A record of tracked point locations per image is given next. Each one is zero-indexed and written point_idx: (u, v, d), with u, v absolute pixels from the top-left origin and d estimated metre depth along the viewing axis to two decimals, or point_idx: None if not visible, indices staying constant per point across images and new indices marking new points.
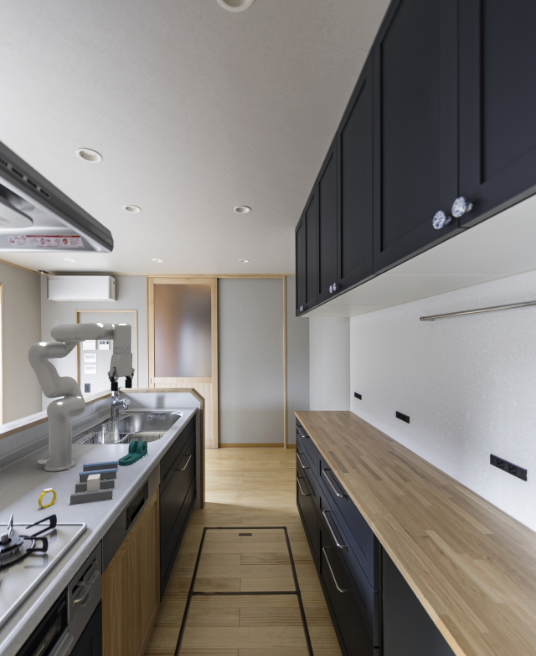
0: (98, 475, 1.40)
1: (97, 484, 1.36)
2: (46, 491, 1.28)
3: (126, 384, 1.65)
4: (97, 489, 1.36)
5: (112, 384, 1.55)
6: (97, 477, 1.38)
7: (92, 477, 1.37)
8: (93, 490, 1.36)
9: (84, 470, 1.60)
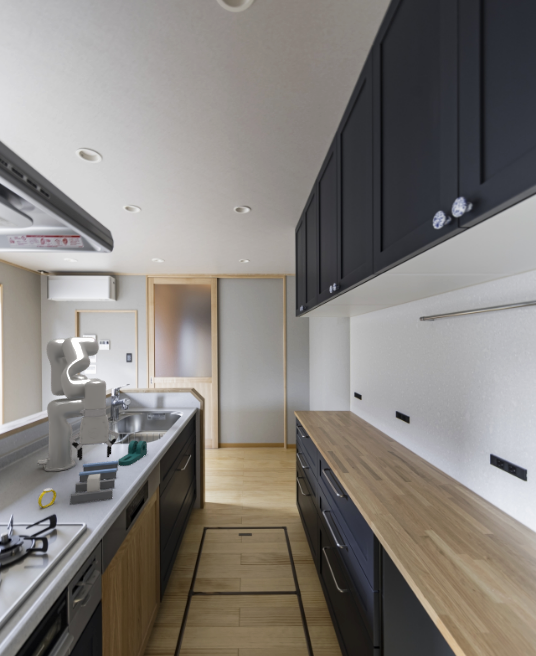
0: (98, 475, 1.40)
1: (97, 484, 1.36)
2: (46, 491, 1.28)
3: (81, 455, 1.36)
4: (97, 489, 1.36)
5: None
6: (97, 477, 1.38)
7: (92, 477, 1.37)
8: (93, 490, 1.36)
9: (84, 470, 1.60)
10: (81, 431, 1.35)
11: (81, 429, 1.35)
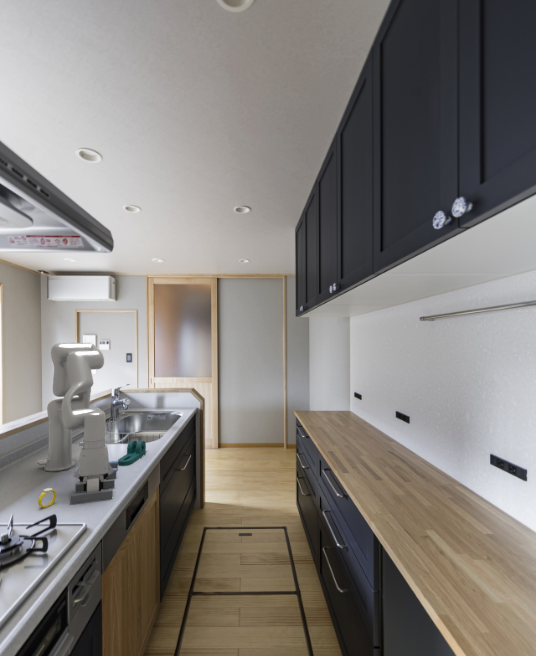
0: (98, 475, 1.40)
1: (97, 484, 1.36)
2: (46, 491, 1.28)
3: None
4: (97, 489, 1.36)
5: None
6: (97, 477, 1.38)
7: (92, 477, 1.37)
8: (93, 490, 1.36)
9: None
10: (80, 463, 1.35)
11: (80, 461, 1.35)
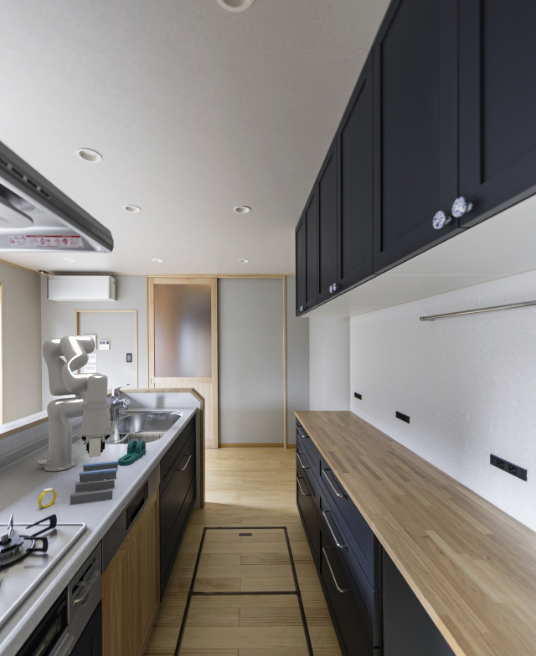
0: (100, 436, 1.45)
1: (99, 444, 1.42)
2: (46, 491, 1.28)
3: None
4: (99, 448, 1.42)
5: (104, 443, 1.45)
6: (99, 437, 1.43)
7: (94, 437, 1.43)
8: (95, 449, 1.42)
9: (84, 470, 1.60)
10: (83, 423, 1.41)
11: (83, 421, 1.41)
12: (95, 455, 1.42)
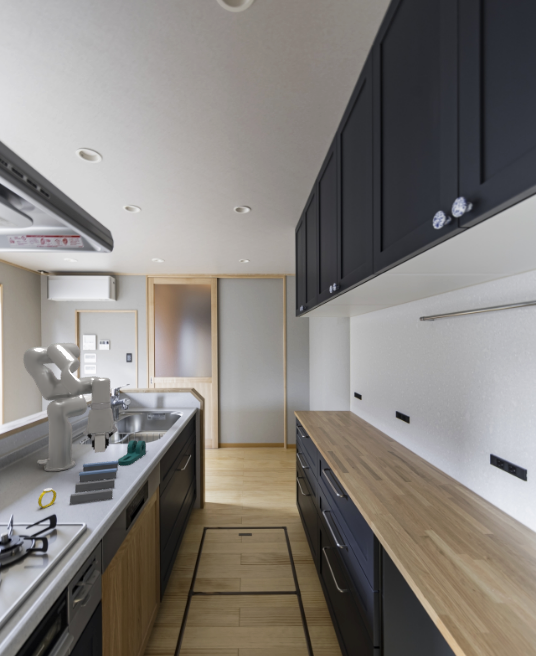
0: (104, 433, 1.60)
1: (103, 440, 1.56)
2: (46, 491, 1.28)
3: None
4: (103, 445, 1.56)
5: (108, 440, 1.59)
6: (103, 434, 1.58)
7: (99, 434, 1.58)
8: (100, 445, 1.56)
9: (84, 470, 1.60)
10: (89, 422, 1.55)
11: (89, 420, 1.55)
12: (100, 451, 1.56)
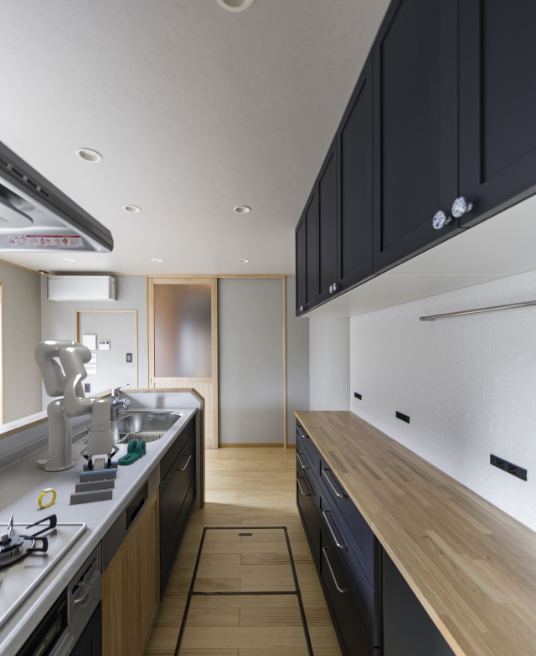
0: (103, 458, 1.59)
1: (102, 466, 1.56)
2: (46, 491, 1.28)
3: (91, 466, 1.56)
4: None
5: None
6: (102, 460, 1.57)
7: (98, 460, 1.57)
8: None
9: (84, 470, 1.60)
10: (88, 444, 1.54)
11: (88, 442, 1.55)
12: None
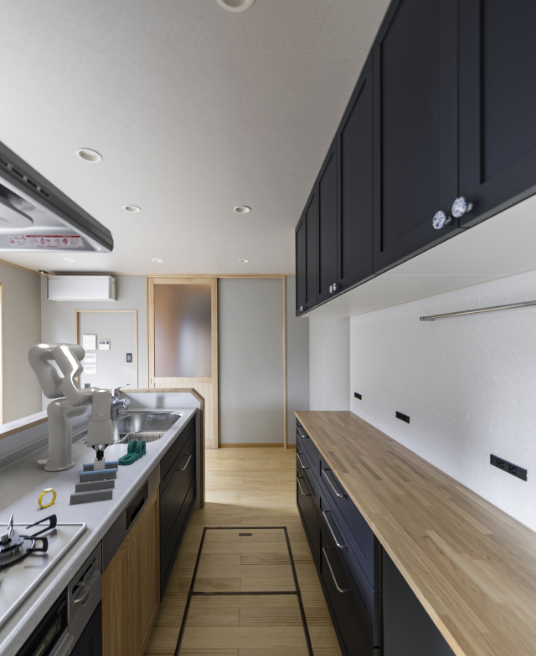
0: (103, 458, 1.59)
1: (102, 466, 1.56)
2: (46, 491, 1.28)
3: None
4: None
5: (103, 452, 1.58)
6: (102, 460, 1.57)
7: None
8: None
9: (84, 470, 1.60)
10: (88, 433, 1.55)
11: (88, 431, 1.55)
12: None
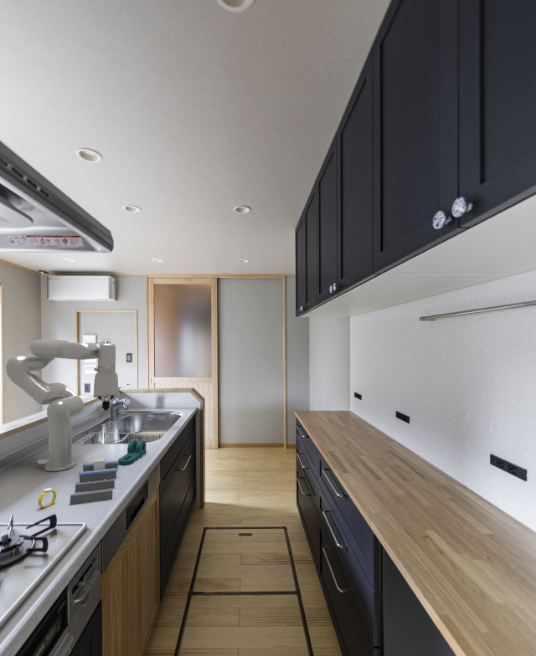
0: (103, 458, 1.59)
1: (102, 466, 1.56)
2: (46, 491, 1.28)
3: None
4: None
5: (109, 403, 1.67)
6: (102, 460, 1.57)
7: (98, 460, 1.57)
8: None
9: (84, 470, 1.60)
10: (95, 384, 1.63)
11: (95, 382, 1.63)
12: None
